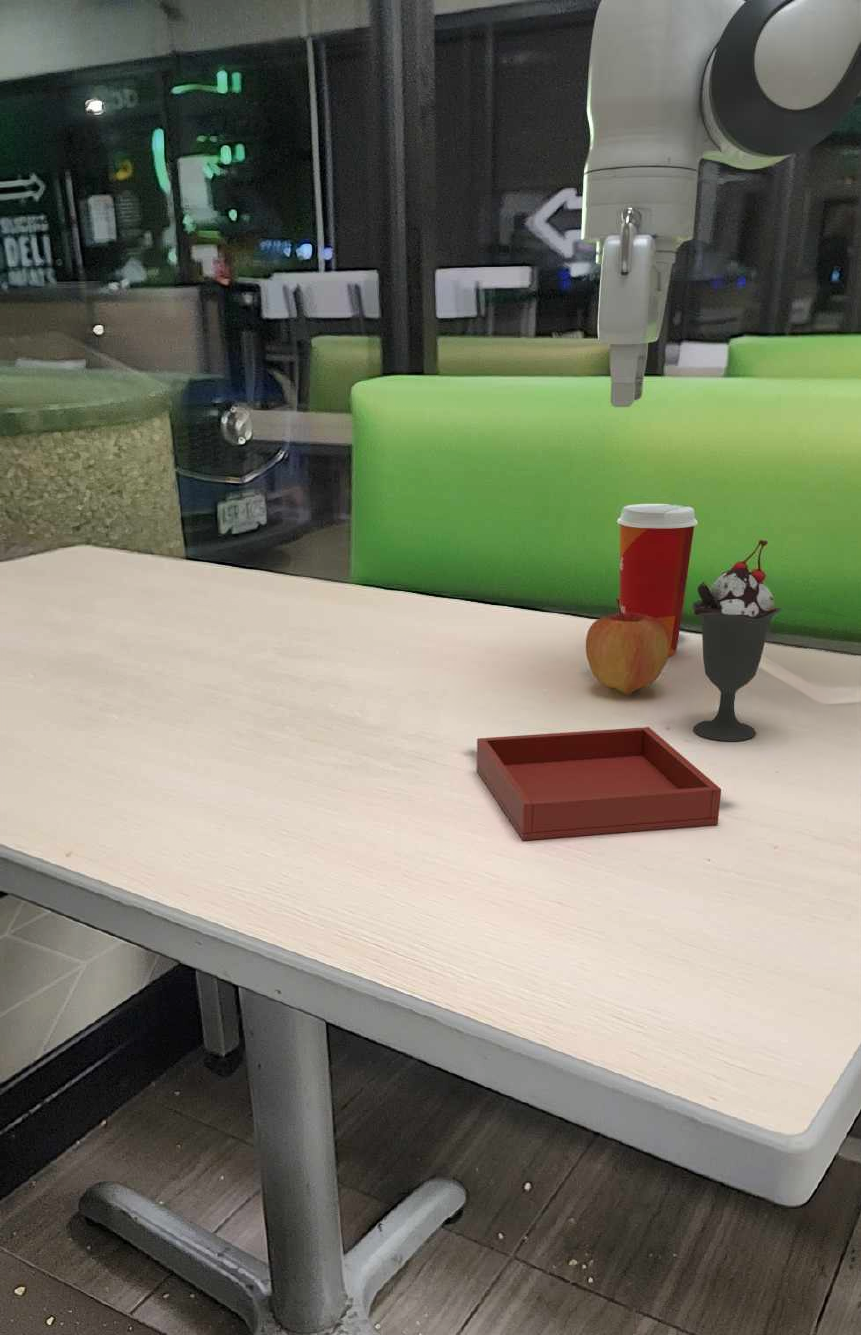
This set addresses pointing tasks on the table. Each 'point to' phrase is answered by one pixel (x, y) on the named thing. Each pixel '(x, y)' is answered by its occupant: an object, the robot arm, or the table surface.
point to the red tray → (595, 783)
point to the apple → (627, 650)
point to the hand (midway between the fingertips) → (626, 403)
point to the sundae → (733, 641)
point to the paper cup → (655, 562)
